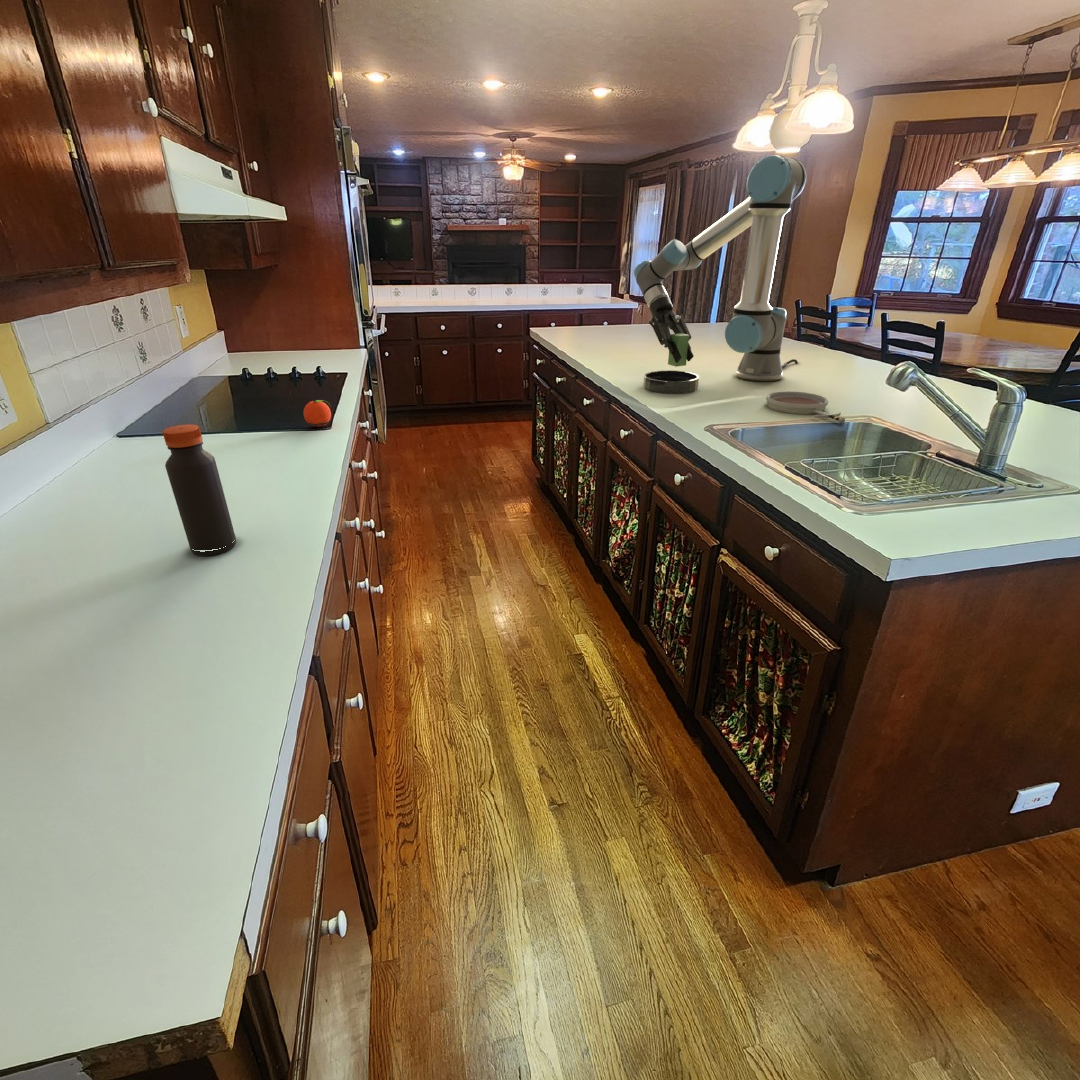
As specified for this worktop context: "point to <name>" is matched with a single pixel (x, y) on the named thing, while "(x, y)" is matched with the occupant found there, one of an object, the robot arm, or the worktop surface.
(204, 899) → the worktop surface
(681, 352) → the green block
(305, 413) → the clementine
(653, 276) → the robot arm
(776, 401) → the frying pan
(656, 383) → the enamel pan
